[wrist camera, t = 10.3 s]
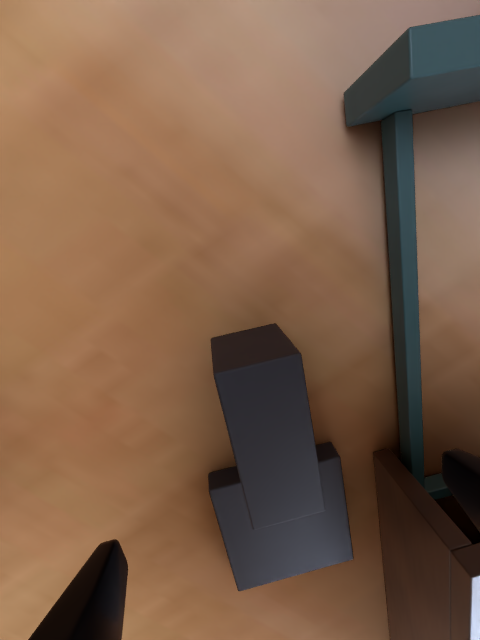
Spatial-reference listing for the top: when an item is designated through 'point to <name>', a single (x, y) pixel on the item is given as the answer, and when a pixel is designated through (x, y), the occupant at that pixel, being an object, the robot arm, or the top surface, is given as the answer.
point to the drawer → (412, 184)
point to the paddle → (274, 465)
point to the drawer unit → (424, 561)
